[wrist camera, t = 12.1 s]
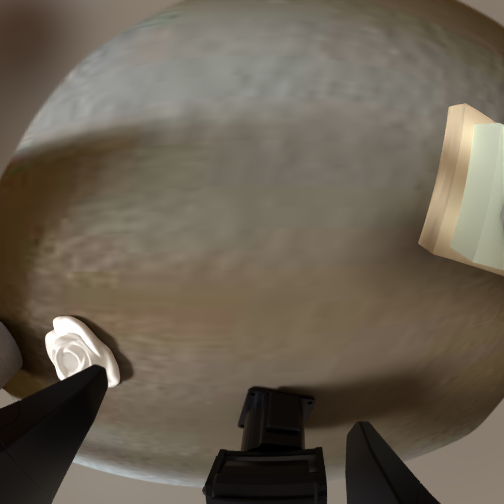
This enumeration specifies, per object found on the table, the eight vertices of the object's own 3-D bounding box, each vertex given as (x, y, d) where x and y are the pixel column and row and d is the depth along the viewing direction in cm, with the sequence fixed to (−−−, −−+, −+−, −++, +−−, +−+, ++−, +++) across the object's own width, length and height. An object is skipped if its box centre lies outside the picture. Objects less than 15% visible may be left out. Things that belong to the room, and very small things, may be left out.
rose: (48, 393, 24) (18, 325, 21) (66, 372, 28) (42, 305, 25) (117, 420, 23) (89, 348, 20) (132, 392, 27) (112, 321, 24)
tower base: (497, 267, 20) (515, 279, 17) (414, 240, 20) (432, 253, 17) (524, 158, 16) (545, 162, 13) (444, 107, 16) (465, 103, 13)
